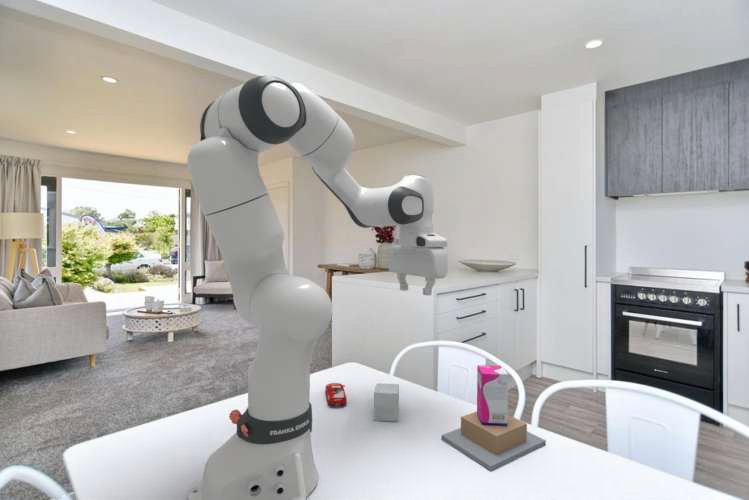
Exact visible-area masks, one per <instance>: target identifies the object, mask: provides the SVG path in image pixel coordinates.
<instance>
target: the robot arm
mask: <svg viewBox="0 0 749 500" xmlns="http://www.w3.org/2000/svg"><path fill="white" fill-rule="evenodd" d="M199 133H200V141H199V142H197V143H196V144H194V146H193V147H192V148H191V149H190V151H189V152H188V155H187V159H186V160H187V167H188V173H189V177H190V180H191V183H192V187H193V190H194V194H195V196H196V199H197V201H198V204H199V207H200V210H201V211H202V214H203V215H204V218H205V220H206V223H207V224H208V226H209V227H208V228H209V229H210V232H211V234H212V236H213V238H214V241H215V244H216V245H217V247H218V250H219V252H220V254H221V256H222V259H223V263H224V265H225V269H226V273H227V276H228V281H229V285H230V288H231V292H232V295H233V297H232V298H233V304H234V307H235V309H236V310H237V313H239V315H240V316H241V318H243V320H244V321H245V322H246V323H248V325H251V326H253V327H255V328H257V329H258V342H257V346H256V350H255V355H254V358H253V360H252V361H251V362H250V364H249V366H248V369H247V408H246V409H245V410H244V412H243V413H241V411H239V409H233V410H231V411H230V413H229V415H228V418H229V420H230V421H231V423H232V424H233V425H236V432H235V433H234V434H233V435H232V436H230V438H228V439H227V440H226V441H225V442H224V443H223V444H222V445H221V446H220V447H219V448H217V449H216V450H215V451H214V452H213V453H212V454H210V455H209V456H208V459H207V460H206V462H205V466H204V470H203V473H202V478H200V479H198V480H196V481H195V482H194V483H193V484H192V486H191V488H190V490H189V492H188V497H187V500H307V498H308V496H309V495H310V494H311V493H312V492H313V491H314V490H315V488H316V486H317V484H318V482H319V472H318V470H317V468H316V464H315V459H314V453H313V447H312V439H311V438H312V436H311V433H312V432H313V431H312V430H313V407H312V403H311V401H310V393H311V392H310V390H311V389H310V388H311V384H310V383H311V381H310V379H311V364H312V358H313V354H314V351H315V347H316V343H317V341H318V338H320V337H321V336H322V335H323V334H324V333H325V331H326V330H327V329H328V327H329V325H330V322H331V320H332V316H333V303H332V301H331V298H330V296H329V294H328V293H327V291H326V290H324V288H323V287H321V286H320V285H319V284H317V283H315V282H313V281H312V280H310V279H308V278H306V277H302V276H297V275H294V274H291V273H290V272H289V270H288V268H287V266H286V263H285V256H284V250H283V244H284V240H285V233H284V229H283V227H282V224H281V221H280V220H279V216H278V213H277V212H276V209H275V207H274V206H275V205H274V204H273V201H272V199H271V196H270V194H269V192H268V189H267V186H266V184H265V182H264V180H263V178H262V176H261V173H260V169H259V153H262V152H266V151H268V150H270V149H272V148H275V147H276V146H277V145H280V144H284V143H287V144H288V145H290V146H291V148H293V149H294V151H296V152H297V153H298V154H299V155H300V156H301V157H302V158H303V159H305V160H306V161H307V163H308V164H309V165H310V166H311V168H312V170H313V173H314V174H315V175H316V176H317V178H318V179H319V180H320V182H322V184H323V185H325V187H326V188H327V189H328V190H329V192H330V193H332V194H333V195H334V196H335V197H336V199H338V201H339V202H341V204H342V205H343V206H344V208H345V209H346V211H347V213H348V215H349V217H350V219H351V220H352V222H353V223H355V225H357V226H358V227H360V228H362V229H363V228H364V229H369V228H376V227H398V238H396V239H394V240H393V242H392V243H391V246H390V248H389V253H388V261H387V267H388V268H387V269H388V271H389V273H395V274H397V275H396V279H397V280H398V282H399V290H400V291H403V292H404V291H408V290H409V283H407V280H406V278H407V275H408V276H415V277H422V278H424V279H425V281H424V282H426V283H425V286H424V287H422V295H423V296H432V294H433V291H432V290H433V287H434V285H435V284H436V279H445V278H446V277H447V275H448V268H449V266H448V265H449V264H448V263H449V261H448V260H449V259H448V252H447V250H446V248H447V246H448V239H447V238H445V237H444V236H441V235H440V234H437V233H435V232H434V225H433V220H432V219H433V214H434V191H433V185H432V182H431V180H430V179H429V178H427V176H423V175H421V174H419V175H417V174H408V175H407V174H406V175H404V176H403V177H402V178H401V180H400V181H398V182H397V183H395V184H393V185H390V186H385V187H383V186H382V187H376V188H369V187H365V186H361V185H360V184H359V183H358V182H357V181H356V180H355V178H354V177H353V176H352V175H351V174H350V172H349V171H348V170H347V169H346V167H347V165H348V164H349V162H350V160H351V159H352V157H353V155H354V152H355V146H356V145H355V143H356V142H355V135H354V133H353V131H352V129H351V128H350V126H349V125H348V124H347V123H346V121H345V120H344V119H343V118H342V117H341V116H340V115H339V114H338V113H337V112H336V110H334V108H332V107H331V105H329V104H328V103H327V102H326V101H325V100H324V99H322V98H321V97H320V96H319V95H318V94H316V93H315V92H313V91H312V89H310V88H308V87H306V86H305V85H304V84H302V83H300V82H296V81H291V82H290V81H289V82H288V81H286V80H285V79H282V78H281V77H277V76H273V75H261V76H256V77H253V78H250V79H248V80H247V81H246V82H245V83H242V84H241V85H240V84H239V85H238V86H236V87H233V88H230V89H229V90H227V91H225V92H224V93H222V94H221V95H220V96H219V97H217V99H216V100H214V101H212V102H211V103H210V104H208V106H206V108H205V110H204V111H203V113H202V115H201V118H200V123H199Z"/></svg>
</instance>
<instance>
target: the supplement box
mask: <svg viewBox="0 0 749 500" xmlns="http://www.w3.org/2000/svg"><path fill="white" fill-rule="evenodd" d="M476 368H477V369H476V370H477V371H476V373H477V375H476V411H477V414H478V417H479V420H480V422H481V425H499V426H508V415H509V373H508V372H507V371H506V369H505V368H504V366H503V365H483V364H482V365H481V364H480V365H479V364H478V365H477V367H476Z"/></svg>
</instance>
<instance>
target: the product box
mask: <svg viewBox="0 0 749 500" xmlns="http://www.w3.org/2000/svg"><path fill="white" fill-rule="evenodd" d="M399 401H400V384H399V383H376V385H375V389H374V392H373V421H374V422H375V421H376V422H378V421H379V422H393V423H397V422H398V418H399V412H400V404H399V403H400V402H399Z"/></svg>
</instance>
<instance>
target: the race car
mask: <svg viewBox="0 0 749 500" xmlns="http://www.w3.org/2000/svg"><path fill="white" fill-rule="evenodd" d="M345 386H346V385H345V384H342V383H339V382H331V383H328V384H326V385H325V396H326V401H327V405H328V407H333V408H335V407H344V406H345V407H346V406H347V403H348V402H347V401H348V400H347V395H346V392H345Z"/></svg>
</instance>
